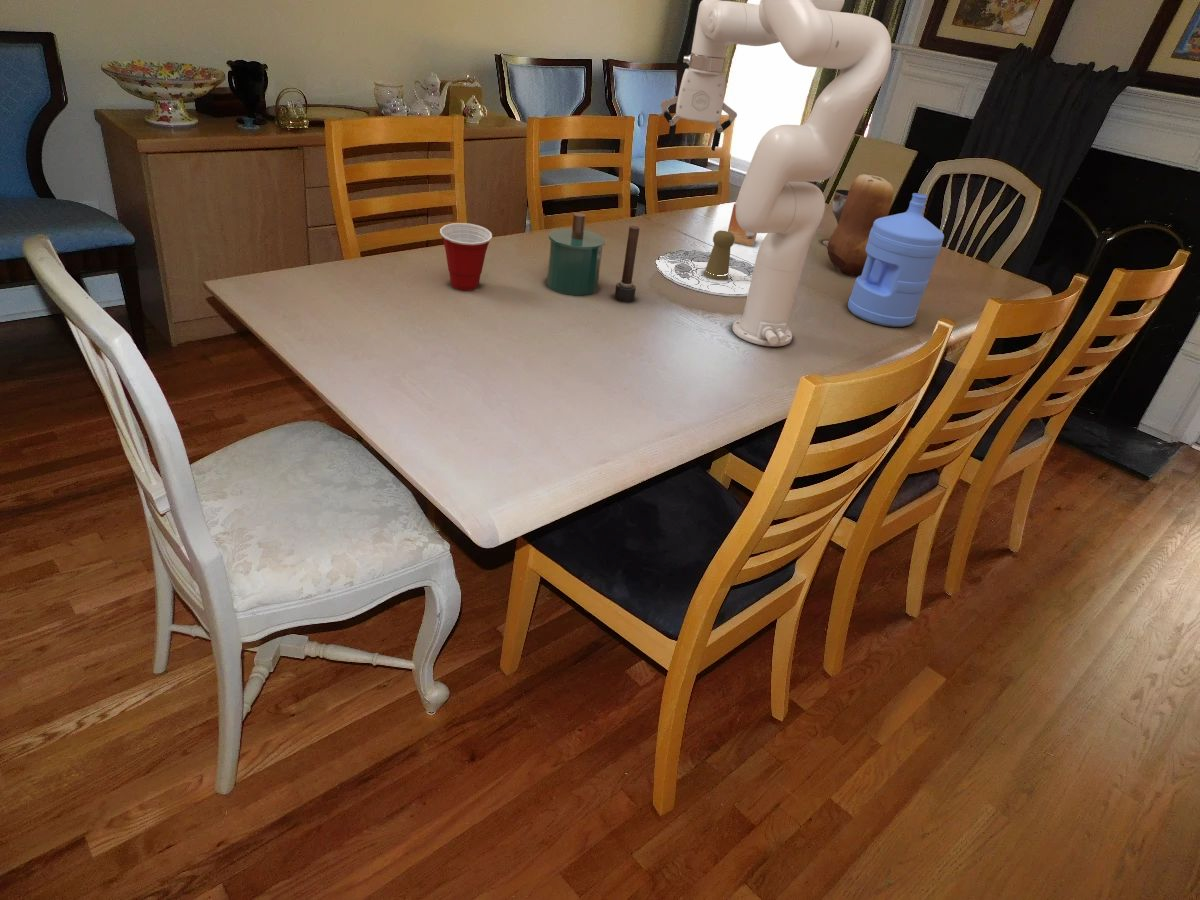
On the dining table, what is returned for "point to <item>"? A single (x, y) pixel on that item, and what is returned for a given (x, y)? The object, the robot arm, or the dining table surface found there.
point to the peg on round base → (628, 268)
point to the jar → (573, 269)
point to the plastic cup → (465, 253)
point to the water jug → (896, 267)
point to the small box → (740, 231)
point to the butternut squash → (859, 222)
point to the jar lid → (577, 235)
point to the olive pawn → (720, 255)
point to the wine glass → (838, 205)
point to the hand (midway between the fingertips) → (692, 146)
